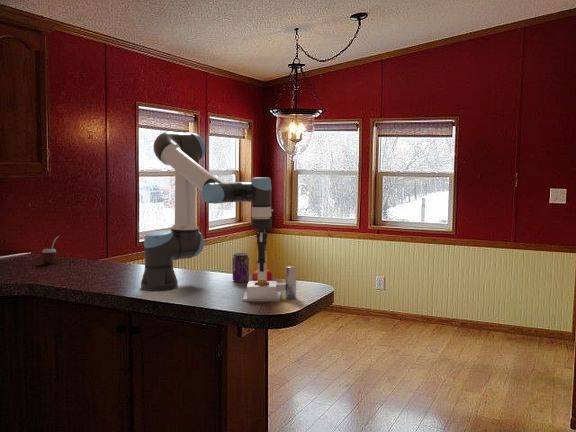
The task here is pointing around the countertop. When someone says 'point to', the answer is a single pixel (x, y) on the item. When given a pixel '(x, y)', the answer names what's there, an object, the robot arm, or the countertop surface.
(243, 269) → the beverage can
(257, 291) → the white block with post
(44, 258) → the mate gourd
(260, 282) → the orange rectangular block
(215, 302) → the countertop surface
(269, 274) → the apple
